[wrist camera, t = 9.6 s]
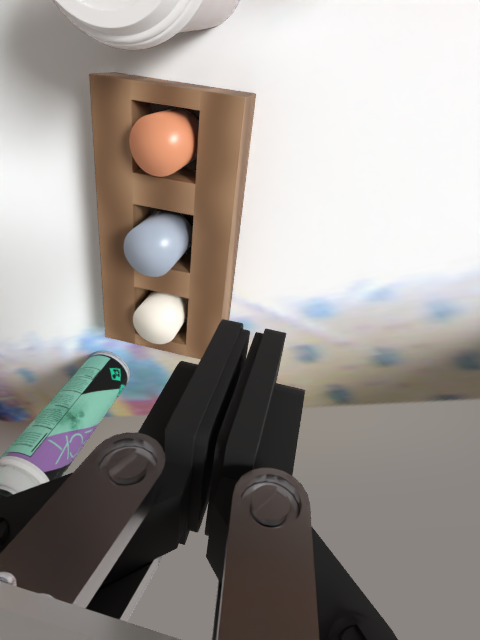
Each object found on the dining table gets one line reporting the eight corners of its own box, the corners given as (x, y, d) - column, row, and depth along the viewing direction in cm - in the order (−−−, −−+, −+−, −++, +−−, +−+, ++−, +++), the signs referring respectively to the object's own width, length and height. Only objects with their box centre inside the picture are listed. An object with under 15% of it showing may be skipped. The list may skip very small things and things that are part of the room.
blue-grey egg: (194, 213, 38) (175, 231, 34) (191, 259, 41) (173, 281, 37) (146, 204, 39) (122, 221, 35) (146, 250, 41) (124, 271, 37)
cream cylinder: (194, 286, 44) (177, 309, 40) (191, 323, 46) (175, 348, 42) (152, 277, 44) (132, 299, 40) (152, 314, 47) (133, 338, 43)
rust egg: (205, 112, 35) (186, 119, 31) (201, 168, 38) (183, 181, 34) (154, 104, 36) (128, 109, 32) (153, 159, 38) (129, 171, 34)
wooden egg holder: (256, 93, 34) (245, 97, 31) (226, 341, 47) (216, 362, 44) (114, 72, 36) (89, 73, 33) (122, 317, 49) (105, 336, 45)
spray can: (96, 386, 55) (-16, 529, 38) (82, 351, 53) (-45, 487, 36) (135, 387, 54) (36, 536, 37) (122, 350, 51) (9, 492, 34)
